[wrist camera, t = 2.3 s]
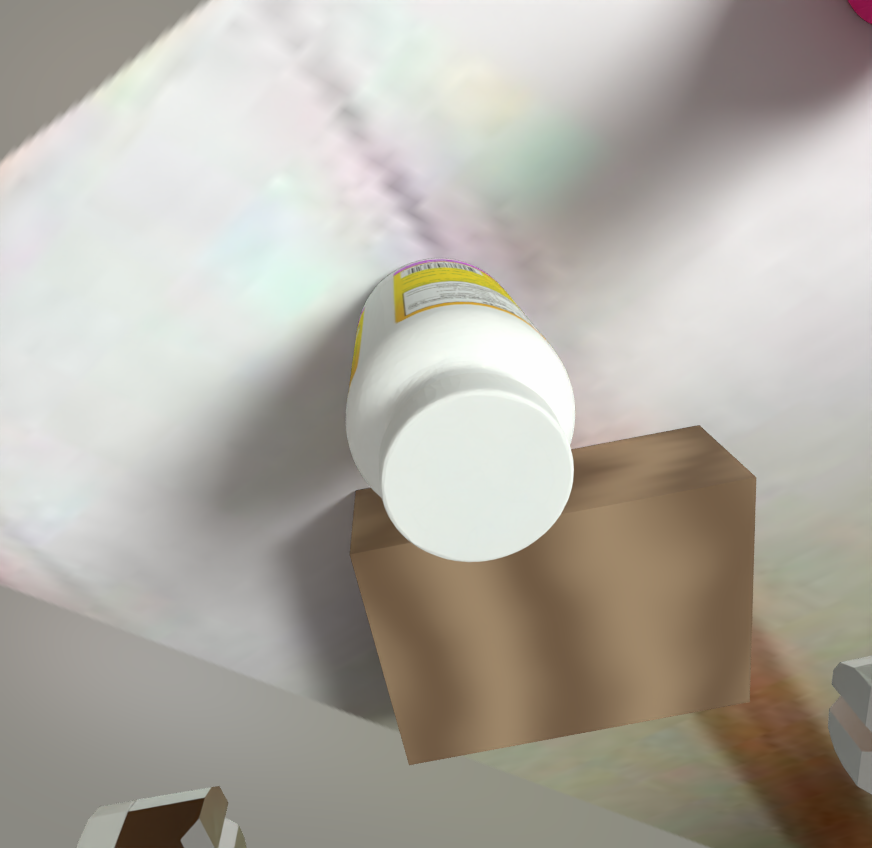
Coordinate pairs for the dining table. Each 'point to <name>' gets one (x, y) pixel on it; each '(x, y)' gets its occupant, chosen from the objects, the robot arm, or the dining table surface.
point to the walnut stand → (572, 605)
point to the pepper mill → (863, 9)
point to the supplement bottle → (459, 413)
